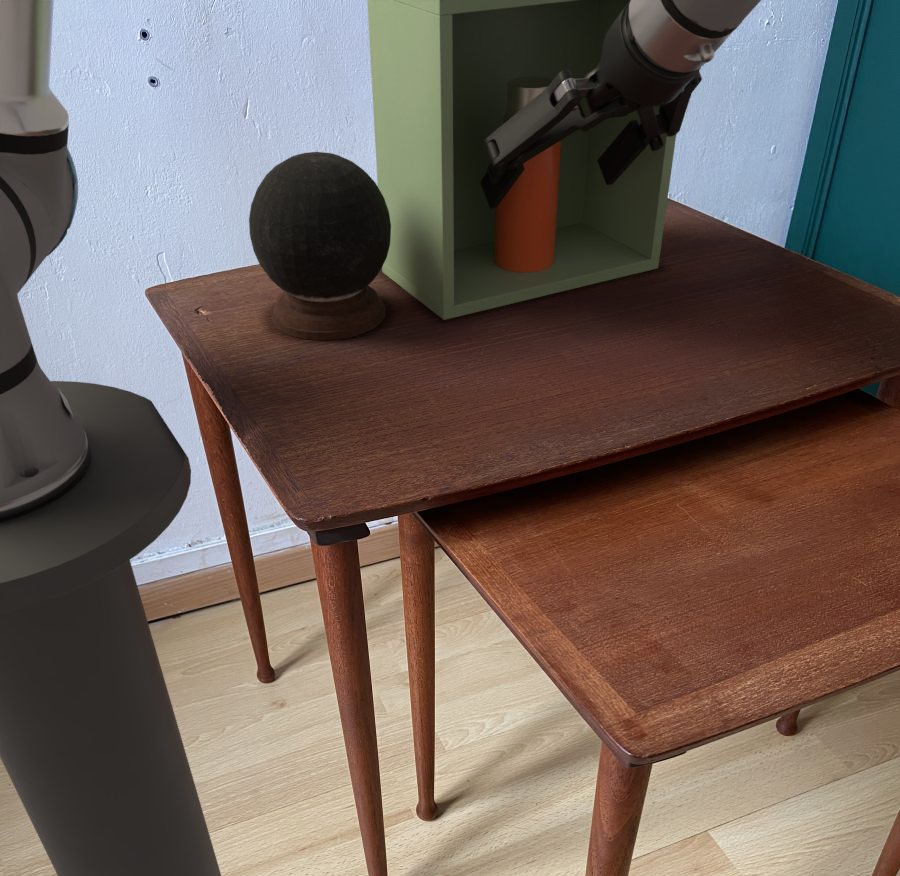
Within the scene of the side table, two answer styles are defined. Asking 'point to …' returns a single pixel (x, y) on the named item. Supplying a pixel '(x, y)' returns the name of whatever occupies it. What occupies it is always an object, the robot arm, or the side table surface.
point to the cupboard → (466, 157)
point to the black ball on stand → (321, 245)
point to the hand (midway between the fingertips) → (548, 183)
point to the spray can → (528, 197)
